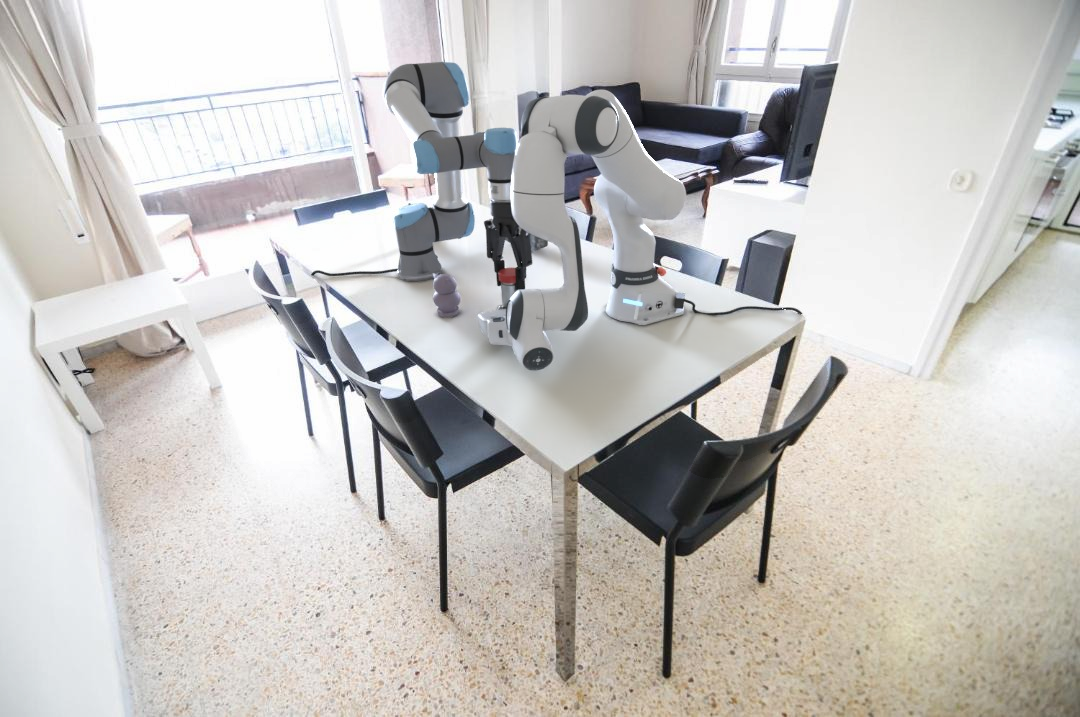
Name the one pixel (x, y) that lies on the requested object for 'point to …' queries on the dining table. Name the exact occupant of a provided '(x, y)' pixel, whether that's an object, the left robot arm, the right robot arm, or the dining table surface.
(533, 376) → the dining table surface
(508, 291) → the grey cylinder
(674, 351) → the dining table surface
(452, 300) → the cat figurine
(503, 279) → the lid
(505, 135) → the left robot arm
